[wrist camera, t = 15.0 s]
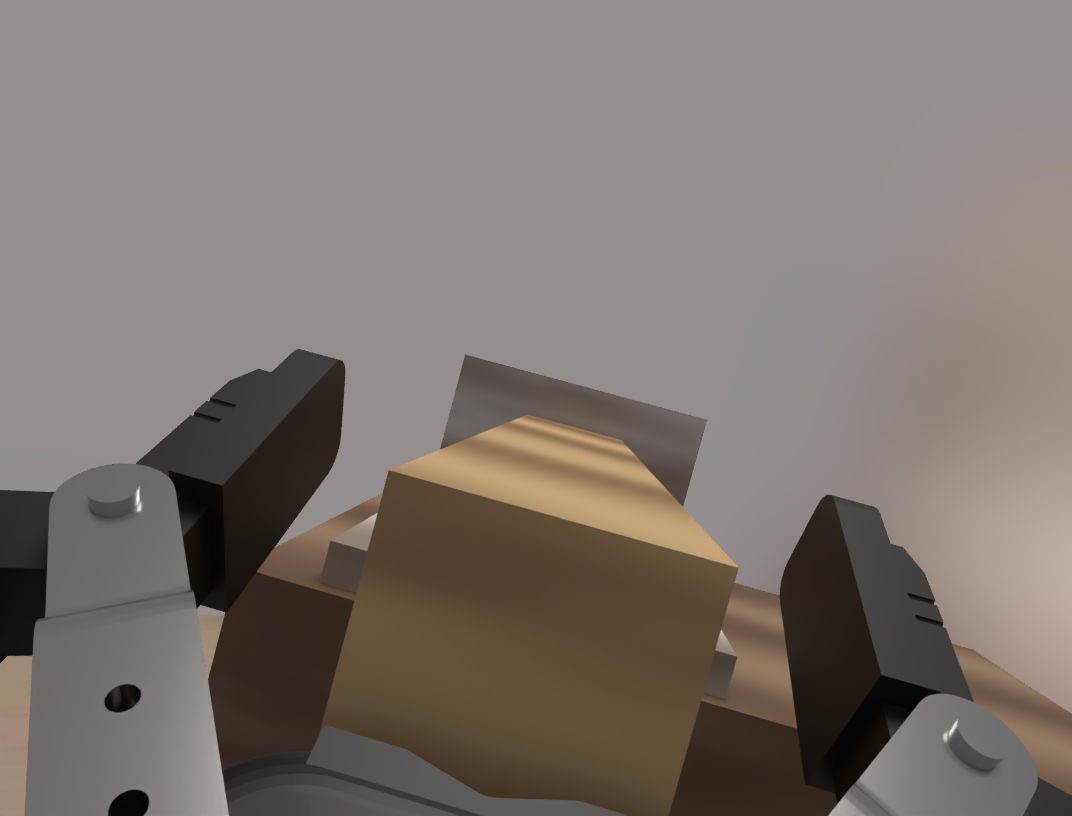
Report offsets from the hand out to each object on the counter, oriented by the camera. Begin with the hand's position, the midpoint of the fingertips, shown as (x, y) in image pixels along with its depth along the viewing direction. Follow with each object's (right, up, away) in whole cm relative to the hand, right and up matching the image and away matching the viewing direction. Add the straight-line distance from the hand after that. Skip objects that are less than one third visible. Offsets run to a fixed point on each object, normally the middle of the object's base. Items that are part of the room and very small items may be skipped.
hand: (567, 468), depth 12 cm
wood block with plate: (-1, -3, +6) cm, 7 cm away
